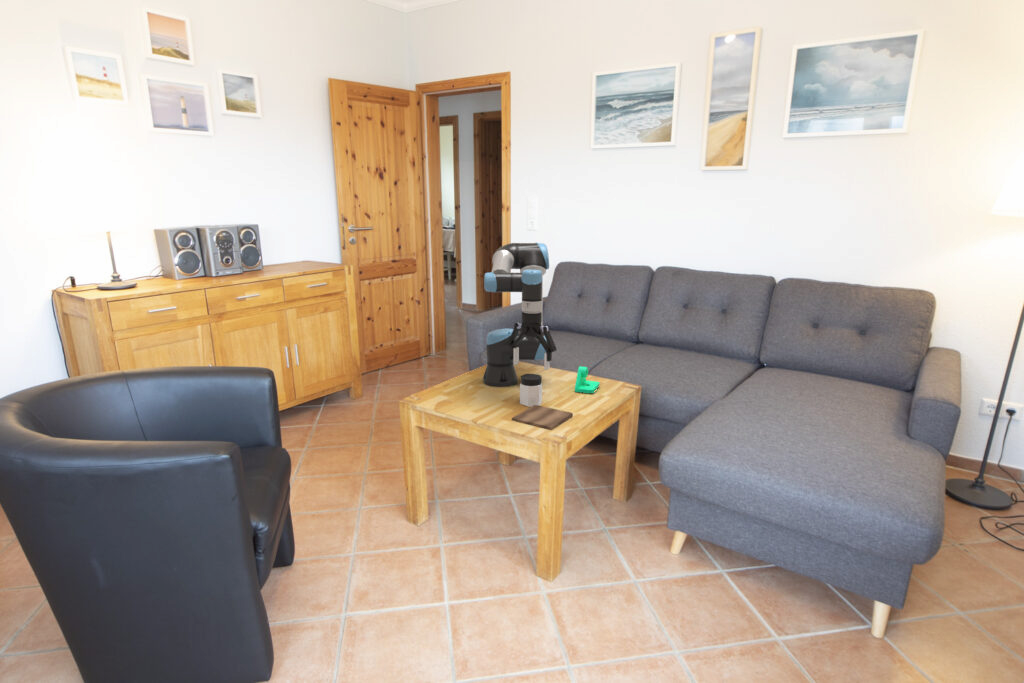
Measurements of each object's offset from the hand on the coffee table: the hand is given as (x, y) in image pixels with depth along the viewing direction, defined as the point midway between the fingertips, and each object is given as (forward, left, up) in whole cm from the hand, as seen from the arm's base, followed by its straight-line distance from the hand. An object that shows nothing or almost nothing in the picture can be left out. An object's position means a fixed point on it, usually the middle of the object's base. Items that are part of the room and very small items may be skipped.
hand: (531, 366), depth 212 cm
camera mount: (+10, +29, -16) cm, 35 cm away
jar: (0, 0, -16) cm, 16 cm away
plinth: (+12, -12, -16) cm, 23 cm away
